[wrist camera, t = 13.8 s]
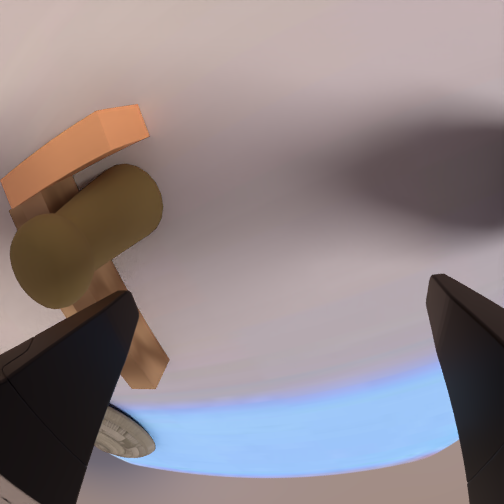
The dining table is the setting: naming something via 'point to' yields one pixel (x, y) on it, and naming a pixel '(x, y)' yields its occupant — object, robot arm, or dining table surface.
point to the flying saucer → (123, 436)
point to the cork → (84, 235)
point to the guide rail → (64, 189)
